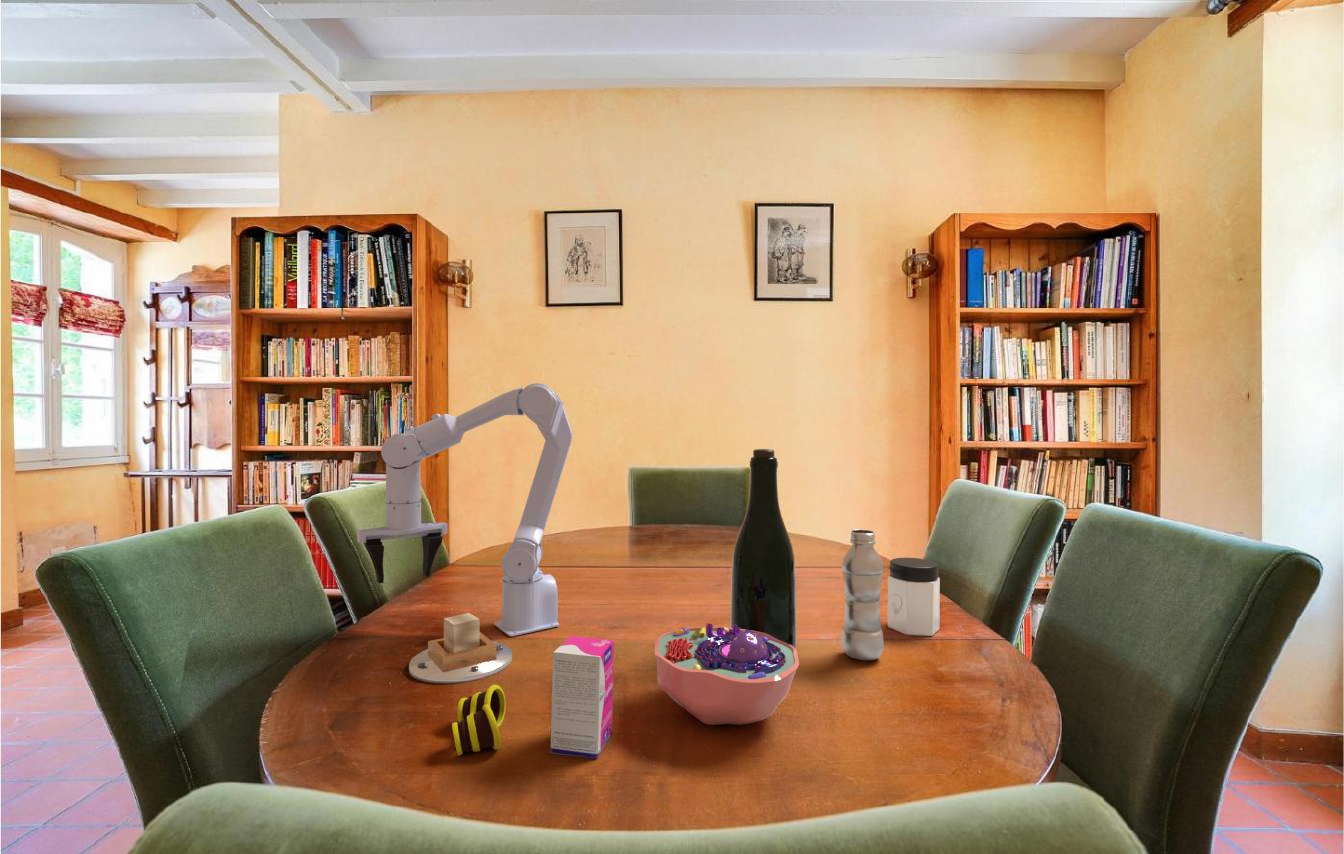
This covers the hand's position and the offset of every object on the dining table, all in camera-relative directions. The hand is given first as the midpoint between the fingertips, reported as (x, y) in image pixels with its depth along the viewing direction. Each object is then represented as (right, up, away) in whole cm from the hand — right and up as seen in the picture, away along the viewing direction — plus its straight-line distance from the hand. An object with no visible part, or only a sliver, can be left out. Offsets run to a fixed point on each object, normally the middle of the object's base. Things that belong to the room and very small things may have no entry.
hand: (403, 578), depth 108 cm
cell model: (+54, -10, -30) cm, 62 cm away
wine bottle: (+62, -10, -10) cm, 64 cm away
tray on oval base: (+15, -10, -14) cm, 22 cm away
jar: (+91, -10, +2) cm, 92 cm away
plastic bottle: (+78, -10, -11) cm, 79 cm away
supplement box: (+37, -10, -37) cm, 53 cm away
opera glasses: (+25, -10, -36) cm, 45 cm away
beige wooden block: (+15, -9, -14) cm, 22 cm away
